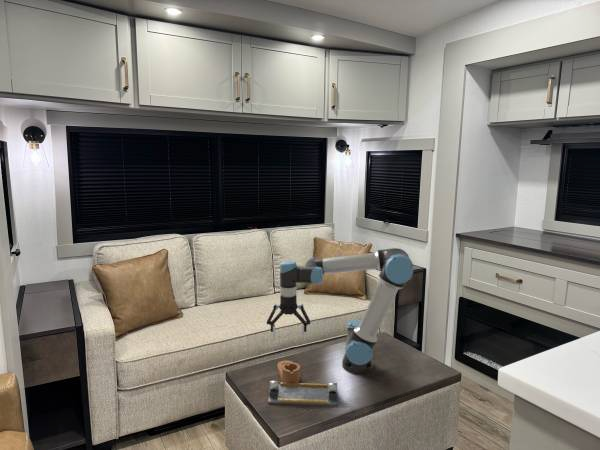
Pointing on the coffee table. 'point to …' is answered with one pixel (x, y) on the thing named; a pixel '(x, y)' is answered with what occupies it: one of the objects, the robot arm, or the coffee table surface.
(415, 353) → the coffee table surface
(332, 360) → the coffee table surface
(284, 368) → the bracket
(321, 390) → the coupling bench
